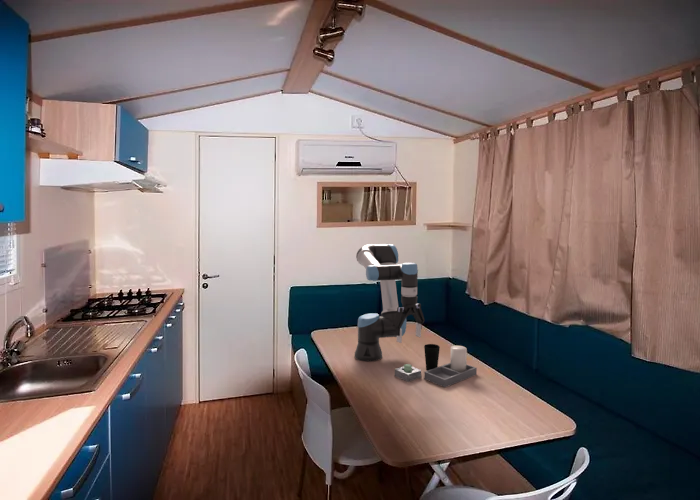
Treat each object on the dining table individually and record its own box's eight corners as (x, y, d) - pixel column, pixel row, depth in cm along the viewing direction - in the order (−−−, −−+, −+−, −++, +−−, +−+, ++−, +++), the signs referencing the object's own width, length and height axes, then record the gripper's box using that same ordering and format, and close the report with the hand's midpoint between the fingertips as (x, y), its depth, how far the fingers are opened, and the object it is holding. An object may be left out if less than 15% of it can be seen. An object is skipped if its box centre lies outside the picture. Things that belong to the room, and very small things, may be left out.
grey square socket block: (394, 376, 201) (394, 369, 201) (407, 371, 207) (407, 364, 206) (408, 381, 194) (408, 374, 194) (421, 377, 200) (421, 370, 199)
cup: (439, 372, 205) (439, 349, 204) (423, 371, 206) (424, 348, 205) (439, 367, 212) (439, 344, 211) (424, 366, 214) (424, 343, 213)
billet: (447, 371, 204) (447, 347, 203) (456, 367, 209) (457, 344, 208) (459, 376, 198) (460, 351, 197) (469, 372, 203) (470, 348, 202)
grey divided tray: (424, 378, 198) (424, 371, 197) (455, 367, 212) (456, 360, 212) (444, 387, 188) (444, 379, 188) (476, 374, 202) (476, 367, 202)
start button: (402, 372, 201) (402, 365, 200) (407, 370, 203) (407, 363, 203) (407, 374, 198) (408, 367, 197) (413, 372, 200) (413, 365, 200)
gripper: (396, 300, 186) (396, 346, 188) (432, 293, 202) (431, 336, 204) (384, 297, 192) (384, 342, 194) (420, 290, 207) (420, 332, 210)
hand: (408, 339), depth 199 cm, fingers open, 12 cm apart
